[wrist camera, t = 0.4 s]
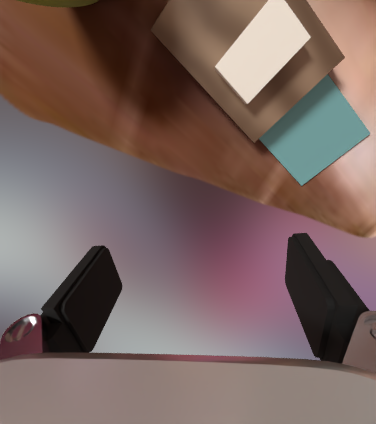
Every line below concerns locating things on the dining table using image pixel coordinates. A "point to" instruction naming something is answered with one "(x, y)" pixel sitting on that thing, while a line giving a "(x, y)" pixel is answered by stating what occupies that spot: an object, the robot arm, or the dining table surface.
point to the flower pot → (61, 2)
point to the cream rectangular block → (262, 49)
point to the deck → (225, 37)
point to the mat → (315, 131)
